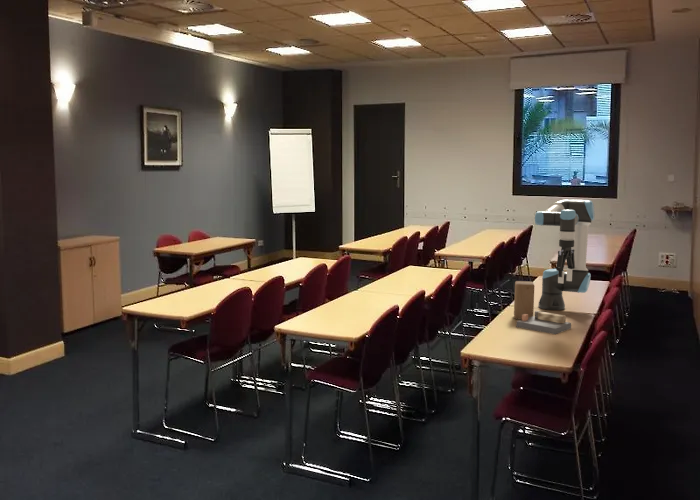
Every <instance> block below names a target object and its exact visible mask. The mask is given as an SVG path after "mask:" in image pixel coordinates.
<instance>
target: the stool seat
mask: <svg viewBox="0 0 700 500" xmlns="http://www.w3.org/2000/svg"><path fill="white" fill-rule="evenodd" d="M515 324H516V328H521V329H527V330H532V331H537V332H541V333H547V334H552V335H556V334H557V335H558V334H559V333H562V332H566V331H569V330H570V329H572V322H569V321H566V322H565V323H557V322H551V321H546V320H540V319H535V315H533V316H532V317H528V314H523V315H522V319H518V320H517V321H516V323H515Z"/></svg>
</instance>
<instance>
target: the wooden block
mask: <svg viewBox="0 0 700 500" xmlns="http://www.w3.org/2000/svg"><path fill="white" fill-rule="evenodd" d="M534 301H535V284H534V281H525V280H524V281H523V280H516V281H515V282H514V301H513V302H514V303H513V317H514V319H515V320H522V315H523V314H528V317H532V316H534V313H535V311H534V308H535V307H534V305H535V302H534Z"/></svg>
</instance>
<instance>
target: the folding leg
mask: <svg viewBox="0 0 700 500" xmlns="http://www.w3.org/2000/svg"><path fill="white" fill-rule="evenodd" d="M534 316H535V319H540V320H546V321H551V322H557V323H565V322H567V318H566V317H567V315H564V314H558V313H553V312H545V311H539V310H535V311H534Z"/></svg>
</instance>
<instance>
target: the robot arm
mask: <svg viewBox="0 0 700 500" xmlns="http://www.w3.org/2000/svg"><path fill="white" fill-rule="evenodd" d="M594 206H595V205H594V203H593V201H592V200H588V199H561V200H558V201H556V202H552V203H551V204H550V205H549V206H548V208H547V209H545V210H544V211H542V210H541V211H536V212H535V214H534V224H535V225H536V226H547V227H548V226H549V227H552V226H553V227H559V233H558V234H559V240H558V241H559V242H558V247H560V248H561V249H560V250H558V251H557V260H556V267H555V268H549V269H546V270H543V272H542V280H541V281H542V283H541V284H542V287H541V288H542V289H541V296H540V297H539V301H538V304H537V305H538V306H537V307H539V309H543V310H549V311H560V310H562V311H563V310H565V308H566V304H565V300H564V297H563V292H568V293H569V292H570V293H578V294H579V293H581V294H583V293H586V292H588V291H589V290H588V289H589V287H590V283H591V277H592V276H591V273H590V272H589V269H588V268H587V266H586V265H587V252H588V238H589V226H591V225H592V222H593V221H595V215H596V214H595V207H594ZM565 264H566V266H567V268H566V271H564V268H565Z"/></svg>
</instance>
